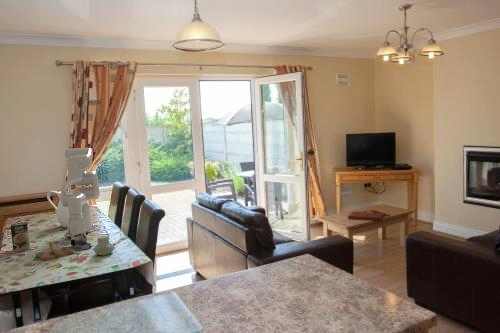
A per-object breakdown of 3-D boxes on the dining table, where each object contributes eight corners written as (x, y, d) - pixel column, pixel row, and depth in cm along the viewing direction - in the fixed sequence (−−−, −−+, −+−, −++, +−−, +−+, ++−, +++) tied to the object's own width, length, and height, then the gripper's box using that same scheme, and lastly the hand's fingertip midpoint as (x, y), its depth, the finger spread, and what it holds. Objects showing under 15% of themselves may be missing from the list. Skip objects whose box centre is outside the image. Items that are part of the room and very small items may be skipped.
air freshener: (93, 257, 218) (91, 240, 217) (95, 253, 226) (93, 236, 225) (114, 254, 221) (112, 237, 220) (114, 250, 229) (113, 233, 228)
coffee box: (13, 252, 237) (9, 226, 235) (13, 249, 243) (10, 224, 241) (30, 249, 241) (27, 223, 239) (30, 246, 247) (27, 221, 245)
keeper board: (64, 248, 237) (63, 235, 236) (73, 253, 227) (71, 239, 226) (36, 256, 226) (34, 241, 226) (43, 261, 216) (41, 246, 215)
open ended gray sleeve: (91, 247, 236) (90, 239, 236) (80, 250, 232) (79, 242, 231) (82, 243, 246) (81, 235, 246) (71, 246, 242) (71, 238, 241)
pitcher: (86, 222, 304) (82, 187, 301) (74, 228, 287) (70, 191, 284) (57, 223, 306) (53, 188, 303) (44, 229, 289) (40, 192, 286)
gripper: (87, 212, 248) (90, 239, 250) (59, 218, 236) (62, 246, 238) (92, 214, 243) (95, 241, 245) (63, 220, 231) (66, 249, 233)
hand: (79, 244), depth 242 cm, fingers closed on open ended gray sleeve, 6 cm apart
